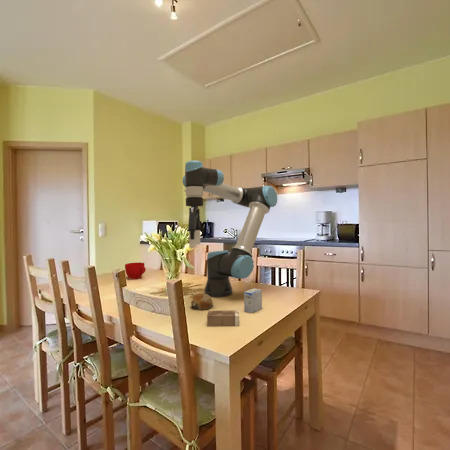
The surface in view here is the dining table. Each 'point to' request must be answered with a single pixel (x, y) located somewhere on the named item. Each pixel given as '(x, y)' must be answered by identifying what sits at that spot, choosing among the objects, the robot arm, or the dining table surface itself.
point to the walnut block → (223, 318)
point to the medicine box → (252, 300)
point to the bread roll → (202, 302)
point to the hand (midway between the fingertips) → (195, 245)
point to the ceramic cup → (134, 270)
